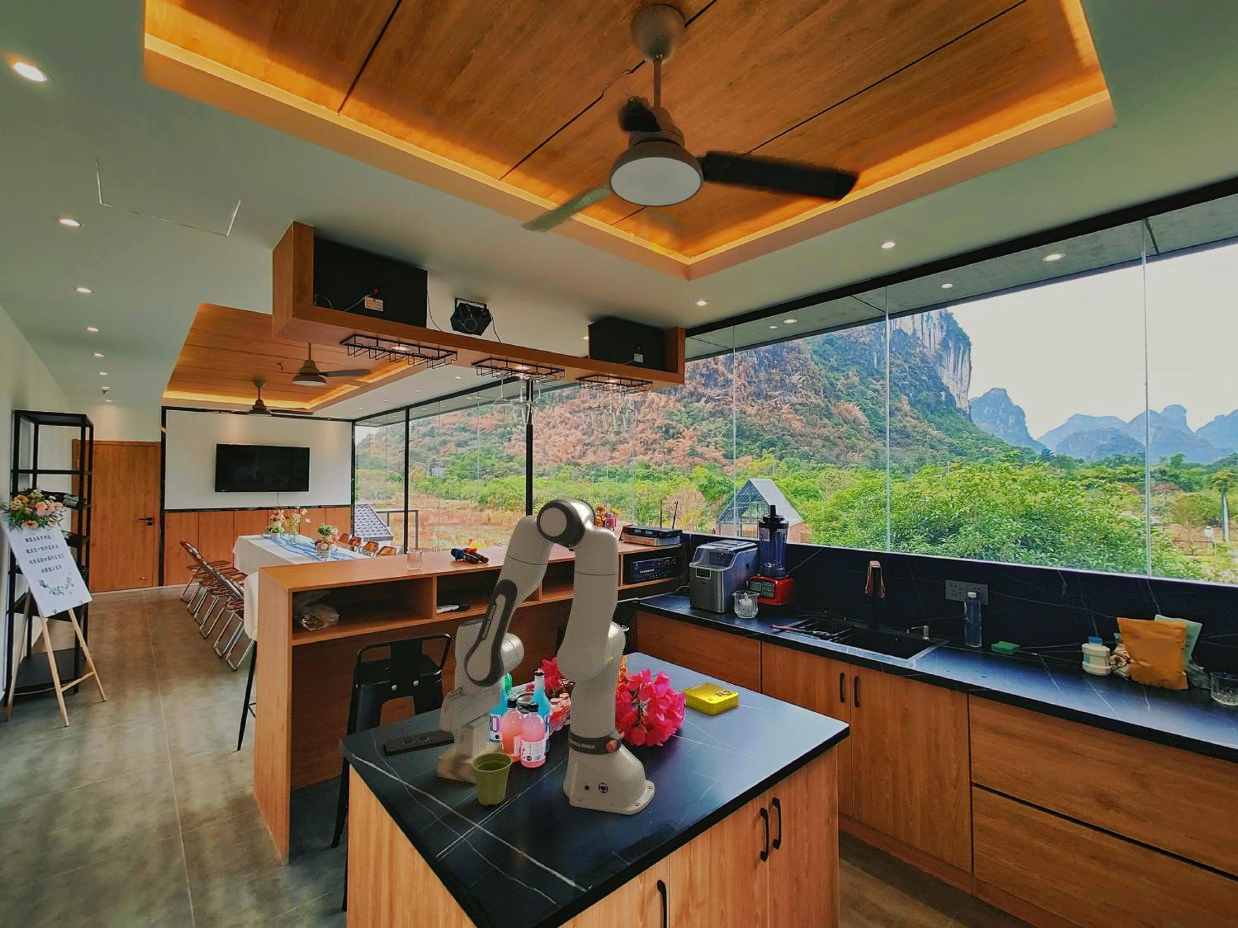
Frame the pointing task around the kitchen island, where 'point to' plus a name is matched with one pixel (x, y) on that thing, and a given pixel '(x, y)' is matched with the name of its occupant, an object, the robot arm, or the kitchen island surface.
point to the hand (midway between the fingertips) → (471, 735)
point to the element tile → (711, 698)
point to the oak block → (462, 763)
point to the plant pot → (491, 776)
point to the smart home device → (418, 741)
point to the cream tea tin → (473, 737)
